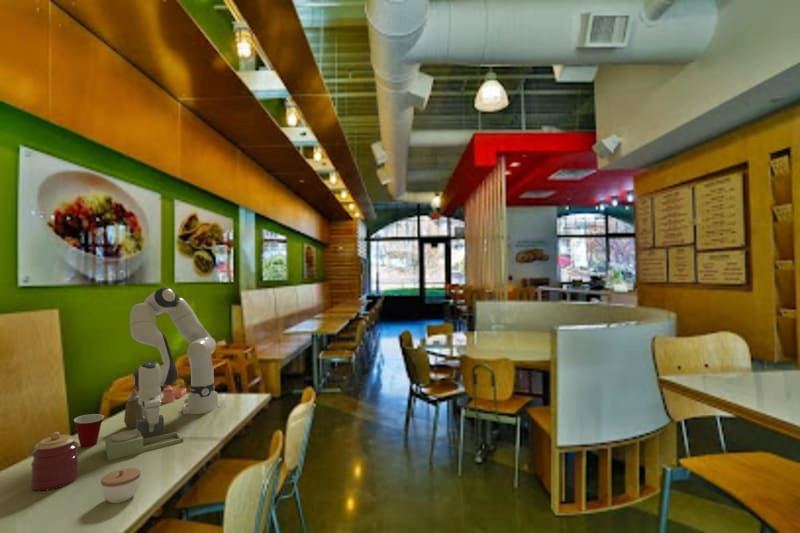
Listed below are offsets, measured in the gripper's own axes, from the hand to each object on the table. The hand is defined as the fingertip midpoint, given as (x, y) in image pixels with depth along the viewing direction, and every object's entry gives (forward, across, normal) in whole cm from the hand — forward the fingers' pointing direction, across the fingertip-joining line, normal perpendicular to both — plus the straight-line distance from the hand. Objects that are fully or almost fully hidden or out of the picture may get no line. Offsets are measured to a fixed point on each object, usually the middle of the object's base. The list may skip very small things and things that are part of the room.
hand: (150, 429), depth 193 cm
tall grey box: (+3, 0, 0) cm, 3 cm away
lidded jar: (+3, +57, -16) cm, 59 cm away
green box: (+3, +13, -5) cm, 14 cm away
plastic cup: (+3, -6, -22) cm, 23 cm away
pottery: (+4, -60, +20) cm, 63 cm away
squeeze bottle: (+3, -20, -4) cm, 21 cm away
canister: (+3, +28, -33) cm, 43 cm away
